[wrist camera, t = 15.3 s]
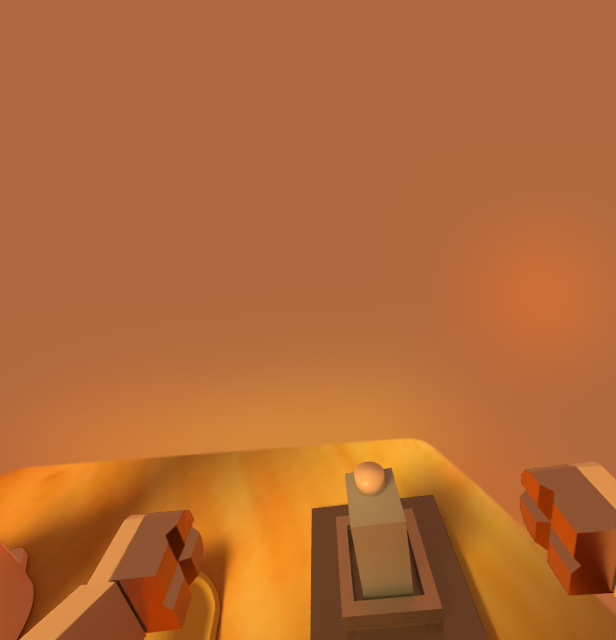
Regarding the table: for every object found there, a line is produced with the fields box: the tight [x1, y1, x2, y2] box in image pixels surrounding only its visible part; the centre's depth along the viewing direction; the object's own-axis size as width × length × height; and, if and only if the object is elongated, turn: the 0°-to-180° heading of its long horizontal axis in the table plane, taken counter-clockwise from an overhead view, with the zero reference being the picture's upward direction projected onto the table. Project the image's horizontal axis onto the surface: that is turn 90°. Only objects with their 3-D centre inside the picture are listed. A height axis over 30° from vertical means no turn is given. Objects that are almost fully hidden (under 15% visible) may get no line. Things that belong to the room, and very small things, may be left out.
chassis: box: [311, 495, 488, 640], centre depth 30 cm, size 13×14×3 cm
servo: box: [345, 462, 414, 600], centre depth 28 cm, size 4×5×10 cm
